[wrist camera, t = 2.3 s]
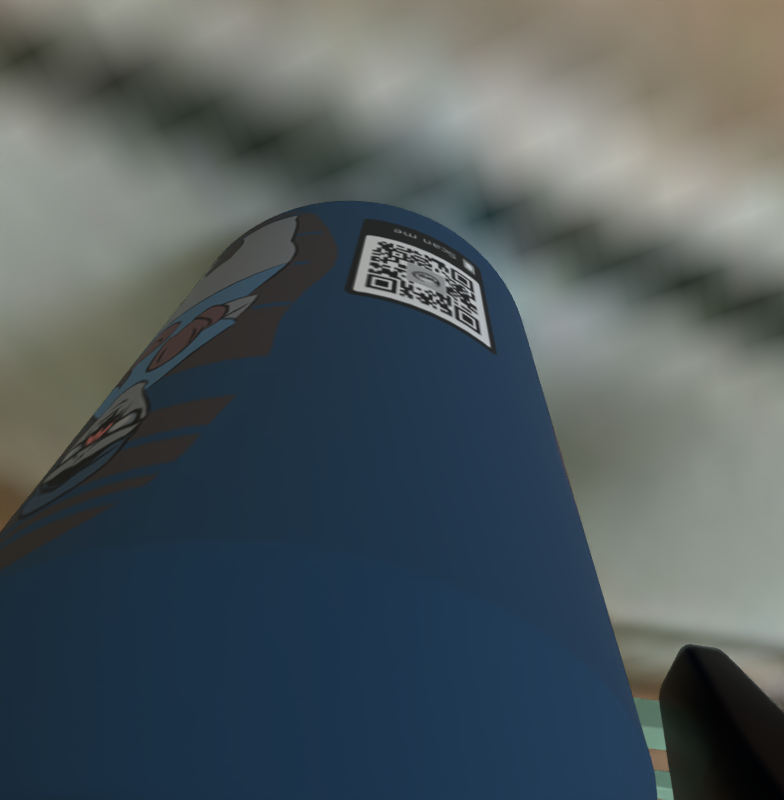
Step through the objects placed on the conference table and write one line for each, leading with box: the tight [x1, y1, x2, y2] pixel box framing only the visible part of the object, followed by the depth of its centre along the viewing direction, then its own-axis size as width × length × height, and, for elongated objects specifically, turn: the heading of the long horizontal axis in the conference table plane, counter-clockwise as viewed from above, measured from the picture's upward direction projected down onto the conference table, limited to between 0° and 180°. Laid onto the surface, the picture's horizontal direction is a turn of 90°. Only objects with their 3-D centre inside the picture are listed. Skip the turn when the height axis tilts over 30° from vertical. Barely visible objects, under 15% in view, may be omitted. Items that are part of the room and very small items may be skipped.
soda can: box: [0, 201, 657, 800], centre depth 10 cm, size 7×7×12 cm
